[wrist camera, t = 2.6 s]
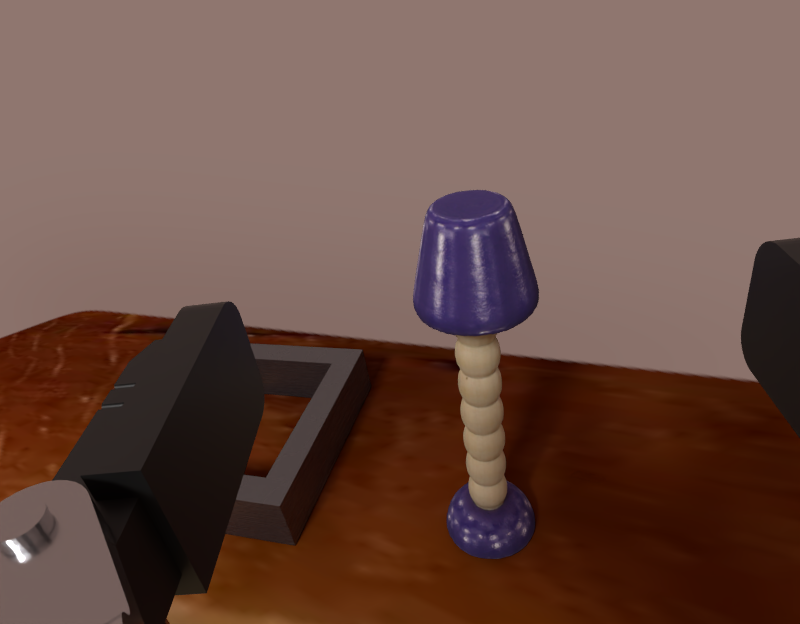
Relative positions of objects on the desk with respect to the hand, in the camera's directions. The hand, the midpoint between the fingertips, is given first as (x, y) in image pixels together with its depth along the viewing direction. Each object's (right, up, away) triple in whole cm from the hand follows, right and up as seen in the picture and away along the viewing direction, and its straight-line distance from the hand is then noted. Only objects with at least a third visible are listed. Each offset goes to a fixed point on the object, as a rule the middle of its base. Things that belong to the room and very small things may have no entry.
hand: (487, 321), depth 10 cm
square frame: (-11, -8, +27) cm, 30 cm away
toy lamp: (+3, -10, +20) cm, 23 cm away
